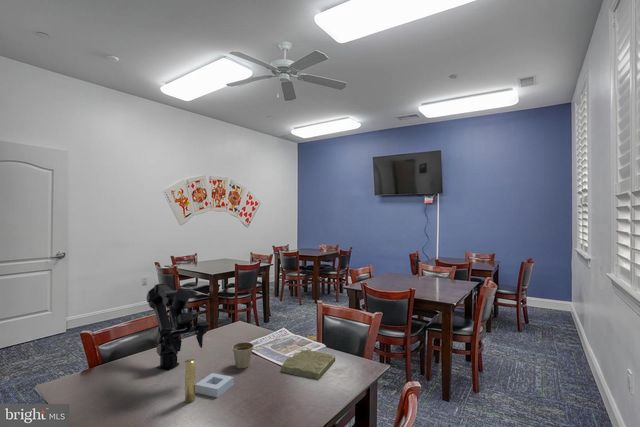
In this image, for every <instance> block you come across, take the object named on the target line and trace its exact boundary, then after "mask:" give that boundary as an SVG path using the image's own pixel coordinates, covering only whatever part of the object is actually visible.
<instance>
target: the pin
mask: <svg viewBox="0 0 640 427" xmlns="http://www.w3.org/2000/svg"><path fill="white" fill-rule="evenodd" d="M184 361H185V362H184V363H185V364H184V403H186V404H192V403H193V402H195V401H196V393H195V384H196V360H195V359H194V358H190V359H187V360H184Z"/></svg>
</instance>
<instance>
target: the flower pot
mask: <svg viewBox="0 0 640 427" xmlns="http://www.w3.org/2000/svg"><path fill="white" fill-rule="evenodd" d="M254 345H255V344H254V343H252V342H248V341H242V342H241V341H240V342H237V343H235V344H233V345H232V346H231V349H232V351H233V356H234V364H235V367H236V368H237V369H247V368H249V367H250V366H251V360H252V353H253V349H254V347H255V346H254Z"/></svg>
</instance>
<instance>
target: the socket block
mask: <svg viewBox="0 0 640 427" xmlns="http://www.w3.org/2000/svg"><path fill="white" fill-rule="evenodd" d="M234 383H235V382H234V376H230V375H226V374H220V373H215V372H211V373H210V374H209V375H207V376H206V377H204V378H202V379H201V380H200V381H198V382H197V383H195V394H200V395H203V396H204V395H205V396H209V397H214V398H219V397H221V396H222V395H223V394H224V393H225V392H226V391H228V390H229V389H230V388H232V387H233V386H234Z"/></svg>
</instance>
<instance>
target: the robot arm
mask: <svg viewBox="0 0 640 427" xmlns="http://www.w3.org/2000/svg"><path fill="white" fill-rule="evenodd" d="M190 298H191V294H190V292H188V291H187V290H185V289H184V288H182V287H181V288H177V290H173V289H172V288H171V287H170V286H168V283H165V282H164V283H156V284H155V285H154V286H153V287H152V288H151V289H149V290H148V291H147V294H146V302H147V303H148V306H149V307H150V309H152V310H154V312H155V317H156V320H157V323H158V327H159V330H158V334H157V336H156V342H157V347H156V353H157V355H158V356H159V358H160V359H159V362H160V363H159V365H158V366H157V369H160V370H167V371H170V370H171V369H174V368H176V367H177V366H179V365H180V363H179V362H178V353H179V352H181V349H182V342H183V340H182V339H181V337H180V336H181V335H186V334H192V333H195V335H196V336H195V338H196V340H197V343H198V346H199V347H200V349H202V348H203V337H204V335H205V334H207V332H208V330H209V327H210V324H209V322H208V320H203V321H198V322H197V323H196V326H192V325H193V322H192V321H195V320H196V319H197V318H198V317H199V316H198V312H197V310H196V309H192V310H191V311H186V310H185V309H186V308H187V306H188V304H189V301H190ZM168 307H169V308H168ZM167 308H168V310H167ZM167 311H169V315H168V312H167ZM169 317H170V318H169ZM170 319H171V321H170ZM171 322H172V324H171Z"/></svg>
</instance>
